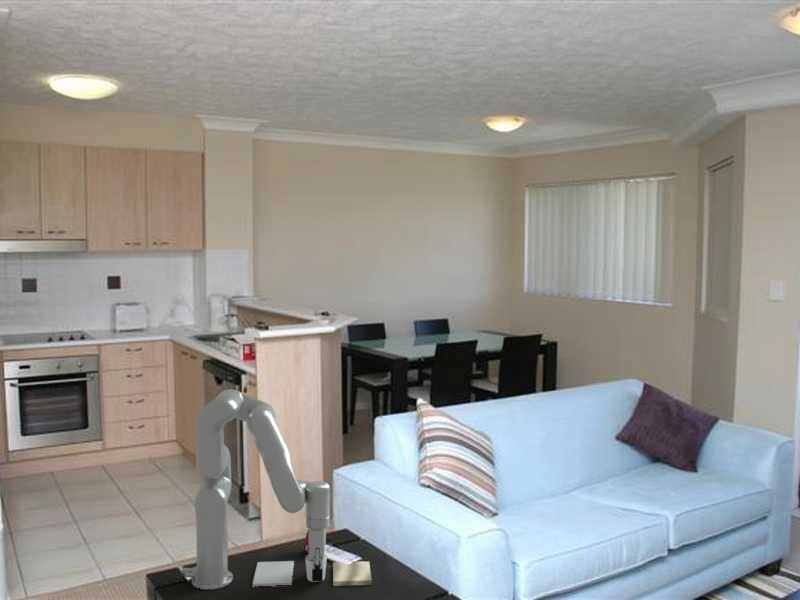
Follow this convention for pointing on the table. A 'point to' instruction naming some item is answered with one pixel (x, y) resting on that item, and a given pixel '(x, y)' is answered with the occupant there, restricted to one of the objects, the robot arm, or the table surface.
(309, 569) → the shot glass
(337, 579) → the birch board
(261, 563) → the grey tile
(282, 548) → the table surface
